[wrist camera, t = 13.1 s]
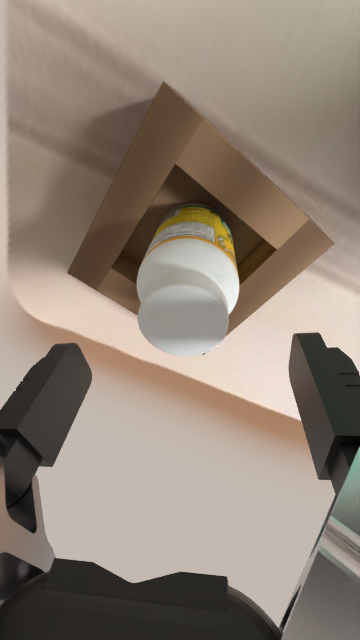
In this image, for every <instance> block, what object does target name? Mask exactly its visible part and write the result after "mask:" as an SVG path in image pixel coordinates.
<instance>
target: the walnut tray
mask: <svg viewBox="0 0 360 640" xmlns="http://www.w3.org/2000/svg"><path fill="white" fill-rule="evenodd" d="M189 203H199V204H204V205H207V206H210V207H212V208H214V209H215V210H216V211H218V212H219V213H220V214H221V215H222V217H223V218H224V219H225V221H226V222H227V224H228V226H229V228H230V231H231V235H232V240H233V246H234V253H235V259H236V265H237V271H238V277H239V294H238V299H237V302H236V304H235V306H234V308H233V310H232V311H231V313H230V314H229V315H228V316H229V323H228V330H227V333H226V335H225V336H227V335H228V334H229V333H230V332H231V331H232V330H234V329H235V328H236V327H237V326H238V325H239V324H241V323H242V322H243V321H244V320H245V319H247V318H248V317H249V316H250V315H251V314H252V313H254V312H255V311H256V310H257V309H258V308H259V307H261V306H262V305H263V304H264V303H265V302H267V301H268V300H269V299H270V298H271V297H272V296H274V295H275V294H276V293H277V292H278V291H279V290H281V289H282V288H283V287H284V286H285V285H287V284H288V283H289V282H290V281H291V280H292V279H294V278H295V277H296V276H297V275H298V274H299V273H301V272H302V271H303V270H304V269H305V268H307V267H308V266H309V265H310V264H311V263H312V262H314V261H315V260H316V259H317V258H318V257H319V256H321V255H322V254H323V253H324V252H325V251H327V250H328V249H329V248H330V247H331V246H332V245H334V244H335V243H334V242H333V241H332V240H331V239H330V238H329V237H328V236H327V235H326V234H325V233H324V232H323V231H322V230H321V229H320V228H319V227H318V226H317V225H316V224H315V223H314V222H313V221H312V220H311V219H310V218H309V217H308V215H306V214H305V213H304V212H303V211H302V210H301V209H300V208H299V207H298V206H297V205H296V204H295V203H294V202H293V201H292V200H291V199H290V198H289V197H288V196H286V195H285V194H284V193H283V192H282V191H281V190H280V189H279V188H278V187H277V186H276V185H275V184H274V183H273V182H272V181H271V180H270V179H269V178H268V177H266V176H265V175H264V174H263V173H262V172H261V171H260V170H259V169H258V168H257V167H256V166H255V165H254V164H253V163H252V162H251V161H250V160H249V159H247V158H246V157H245V156H244V155H243V154H242V153H241V152H240V151H239V150H238V149H237V148H236V147H235V146H234V145H233V144H232V143H231V142H230V141H229V140H227V139H226V138H225V137H224V136H223V135H222V134H221V133H220V132H219V131H218V130H217V129H216V128H215V127H214V126H213V125H212V124H211V123H210V122H208V121H207V120H206V119H205V118H204V117H203V116H202V115H201V114H200V113H199V112H198V111H197V110H196V109H195V108H194V107H193V106H192V105H191V104H190V103H188V102H187V101H186V100H185V99H184V98H183V97H182V96H181V95H180V94H179V93H178V92H177V91H176V90H174V89H173V88H172V87H170V86H169V85H168V84H166V83H165V82H164V81H163V83H162V85H161V87H160V89H159V91H158V93H157V95H156V97H155V99H154V101H153V103H152V105H151V107H150V109H149V111H148V113H147V115H146V117H145V119H144V121H143V123H142V125H141V127H140V129H139V131H138V133H137V135H136V137H135V139H134V141H133V143H132V145H131V147H130V149H129V151H128V153H127V155H126V157H125V159H124V161H123V163H122V165H121V167H120V169H119V171H118V173H117V175H116V177H115V179H114V181H113V183H112V185H111V187H110V189H109V191H108V193H107V195H106V197H105V199H104V201H103V203H102V205H101V207H100V209H99V211H98V213H97V215H96V217H95V219H94V221H93V223H92V225H91V227H90V229H89V231H88V233H87V235H86V237H85V239H84V241H83V243H82V245H81V247H80V249H79V251H78V253H77V255H76V257H75V259H74V261H73V262H72V264H71V266H70V268H69V270H68V272H67V273H68V274H70V275H72V276H73V277H75V278H77V279H78V280H80V281H82V282H83V283H85V284H87V285H88V286H90V287H92V288H93V289H95V290H97V291H98V292H100V293H102V294H103V295H105V296H107V297H108V298H110V299H112V300H113V301H115V302H117V303H118V304H120V305H122V306H123V307H125V308H127V309H128V310H130V311H131V312H133V313H135V314H136V315H138V311H139V308H140V305H141V302H140V299H139V297H138V293H137V276H138V271H139V268H140V266H141V263H142V261H143V259H144V257H145V255H146V253H147V250H148V248H149V246H150V244H151V242H152V240H153V238H154V235H155V233H156V231H157V229H158V227H159V225H160V223H161V221H162V220H163V219H164V217H165V216H166V215H167V214H168V213H169V212H170V211H172V210H173V209H175V208H177V207H179V206H181V205H184V204H189ZM206 353H207V352H206ZM204 354H205V353H203V355H204Z"/></svg>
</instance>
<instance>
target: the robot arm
mask: <svg viewBox="0 0 360 640" xmlns="http://www.w3.org/2000/svg"><path fill="white" fill-rule="evenodd" d="M289 377H290V382H291V386H292V389H293V393H294V396H295V400H296V403H297V407H298V410H299V413H300V417H301V420H302V424H303V427H304V431H305V434H306V438H307V441H308V444H309V448H310V452H311V455H312V458H313V462H314V465H315V469H316V472H317V476H318V479H320V480H331V482H332V485H333V488H334V491H335V494H336V495H335V497H334V499H333V501H332V504H331V506H330V508H329V511H328V513H327V516H326V518H325V520H324V523H323V525H322V527H321V530H320V532H319V534H318V537H317V539H316V542H315V544H314V546H313V549H312V551H311V553H310V556H309V558H308V560H307V563H306V565H305V567H304V569H303V571H302V574H301V576H300V578H299V581H298V583H297V585H296V587H295V589H294V592H293V594H292V597H291V599H290V601H289V604H288V606H287V609H286V611H285V613H284V616H283V618H282V621H281V622H280V625H279V627H277V626H276V625H275V623H274V622H273V621H272V620H271V619H270V617H269V616H268V615H267V614H266V613H265V612H264V611H263V610H262V609H261V608H260V607H259V606H258V605H257V604H256V603H255V602H254V601H252V600H251V599H250V598H249V597H247V596H246V595H244V594H243V593H241V592H240V591H238V590H236V589H234V588H232V587H230V586H229V585H228V580H227V577H225V576H216V575H206V574H197V573H188V572H178V573H174V574H170V575H166V576H162V577H158V578H154V579H150V580H146V581H143V582H138V583H130V582H128V581H126V580H124V579H122V578H121V577H119V576H117V575H115V574H113V573H111V572H110V571H108V570H106V569H104V568H103V567H101V566H99V565H97V564H95V563H93V562H85V561H77V560H67V559H58V558H56V557H55V554H54V551H53V549H52V547H51V546H50V544H49V542H48V540H47V537H46V534H45V529H44V521H43V514H42V507H41V500H40V492H39V485H38V479H37V476H36V475H35V473H36V471H37V469H38V467H39V466H44V467H46V466H47V467H52V466H53V465H54V462H55V460H56V458H57V456H58V454H59V451H60V449H61V447H62V445H63V443H64V441H65V439H66V437H67V434H68V432H69V430H70V428H71V426H72V423H73V421H74V419H75V417H76V415H77V413H78V410H79V408H80V406H81V404H82V402H83V400H84V398H85V395H86V393H87V391H88V389H89V387H90V384H91V380H92V373H91V369H90V367H89V365H88V363H87V361H86V359H85V357H84V355H83V353H82V351H81V349H80V348H79V346H78V345H77V344H76V343H66V344H55V345H54V346H53V347H52V348H51V349H50V351H49V352H48V354H47V355H46V357H45V358H42V359H41V360H40V361H39V362H37V363H36V364H35V365H34V366H33V367H32V368H31V369H30V370H29V371H28V373H27V374H26V376H25V377H24V378H23V381H21V382H20V384H19V385H18V387H17V388H16V391H14V392H13V393H12V395H11V396H10V398H9V399H8V401H7V402H6V403H5V405H4V406H3V407H2V409H1V410H0V640H360V376H359V372H358V370H357V368H356V366H355V365H354V363H353V361H352V359H351V358H350V357H348V356H347V355H346V354H345V353H344V352H342V351H341V350H340V349H339V348H338V347H337V348H327V347H326V345H325V343H324V341H323V339H322V337H321V335H320V334H319V333H296V334H294V335H293V338H292V345H291V353H290V360H289Z"/></svg>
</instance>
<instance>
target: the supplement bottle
mask: <svg viewBox="0 0 360 640" xmlns="http://www.w3.org/2000/svg"><path fill="white" fill-rule="evenodd" d="M137 293H138V297H139V299H140V302H141V305H140V308H139V311H138V323H139V327H140V330H141V332H142V334H143V335H144V337H145V338H146V339H147V340H148V341H149V342H150V343H151V344H152V345H153V346H155V347H156V348H158V349H160V350H162V351H164V352H166V353H169V354H173V355H178V356H195V355H200V354H203V353H206V352H209V351H210V350H212V349H214V348H215V347H216V346H218V345H219V344H220V343H221V342H222V340H223V339H224V337H225V335H226V333H227V330H228V323H229V316H228V315H229V314H230V313H231V311H232V310H233V308H234V306H235V304H236V302H237V299H238V294H239V277H238V271H237V265H236V259H235V253H234V246H233V240H232V235H231V231H230V228H229V226H228V224H227V222H226V221H225V219H224V218H223V217H222V215H221V214H220V213H219V212H218V211H216V210H215V209H214V208H212V207H210V206H207V205H204V204H199V203H189V204H184V205H181V206H179V207H177V208H175V209H173V210H172V211H170V212H169V213H168V214H167V215H166V216H165V217H164V219H163V220H162V221H161V223H160V225H159V227H158V229H157V231H156V233H155V235H154V238H153V240H152V242H151V244H150V246H149V248H148V250H147V253H146V255H145V257H144V259H143V261H142V263H141V266H140V268H139V271H138V276H137Z"/></svg>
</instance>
